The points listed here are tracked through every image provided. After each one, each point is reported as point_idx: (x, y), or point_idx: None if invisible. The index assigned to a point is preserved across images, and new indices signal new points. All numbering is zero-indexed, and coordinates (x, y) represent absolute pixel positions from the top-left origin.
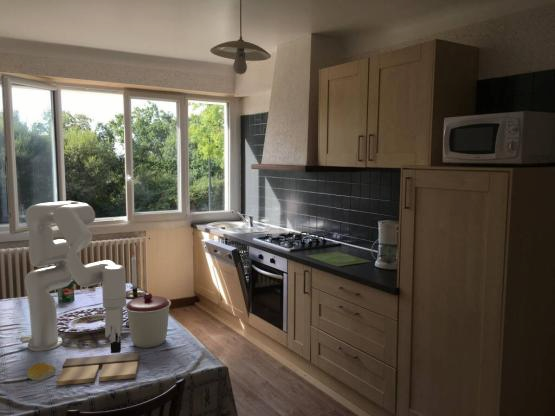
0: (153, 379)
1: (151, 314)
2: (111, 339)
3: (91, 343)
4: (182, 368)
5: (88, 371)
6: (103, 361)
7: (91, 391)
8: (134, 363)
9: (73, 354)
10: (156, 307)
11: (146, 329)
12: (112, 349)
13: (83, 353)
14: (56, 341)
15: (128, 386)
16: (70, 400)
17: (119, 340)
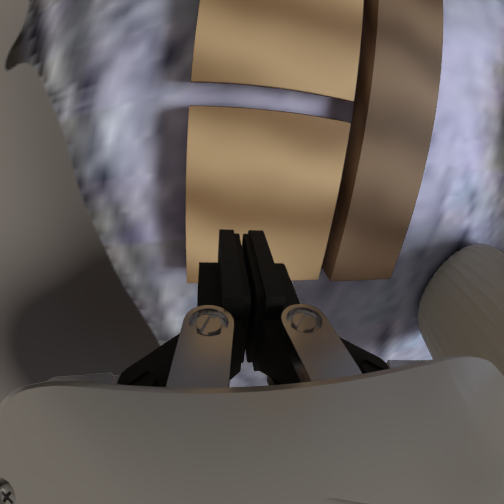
0: (173, 323)
1: None
2: (132, 375)
3: None
4: (235, 383)
5: (287, 45)
6: (376, 126)
7: (108, 86)
8: (302, 268)
9: (483, 36)
10: None
11: (457, 343)
12: (219, 260)
13: (483, 68)
14: None
15: (126, 245)
16: (58, 22)
17: (254, 365)
